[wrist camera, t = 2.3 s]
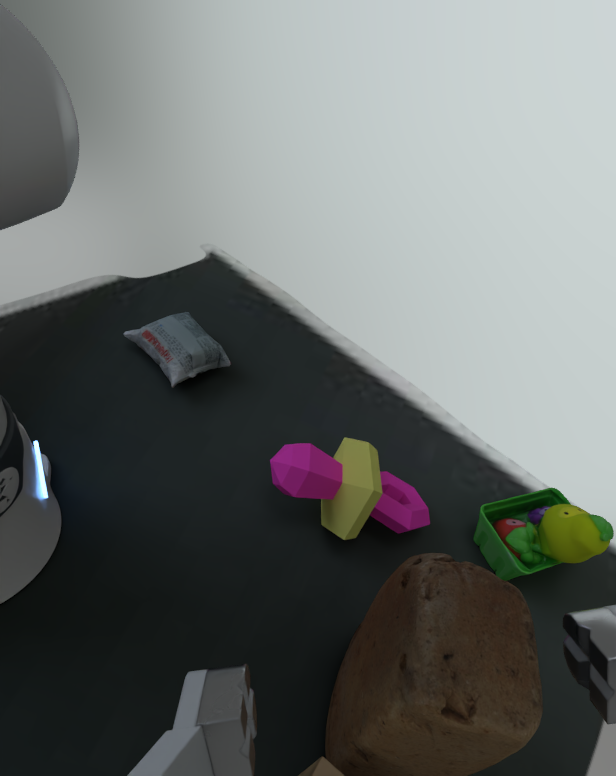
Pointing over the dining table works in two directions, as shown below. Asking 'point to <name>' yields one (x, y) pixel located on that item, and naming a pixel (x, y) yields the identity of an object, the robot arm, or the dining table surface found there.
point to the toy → (348, 487)
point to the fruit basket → (538, 533)
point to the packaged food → (179, 347)
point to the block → (436, 675)
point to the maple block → (321, 769)
